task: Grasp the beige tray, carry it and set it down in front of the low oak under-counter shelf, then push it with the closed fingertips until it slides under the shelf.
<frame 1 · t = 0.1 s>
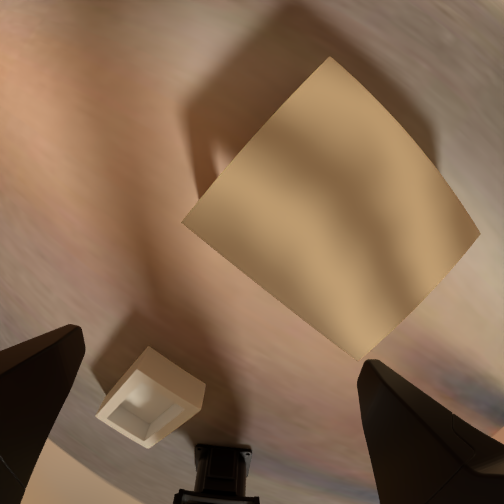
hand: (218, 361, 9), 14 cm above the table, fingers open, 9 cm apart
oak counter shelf: (332, 207, 22), on the table
beige tray: (151, 390, 28), on the table
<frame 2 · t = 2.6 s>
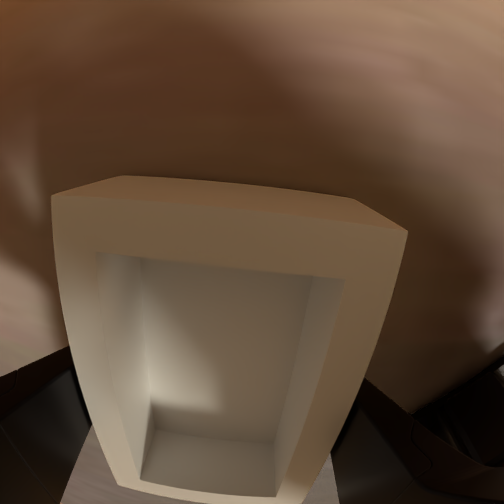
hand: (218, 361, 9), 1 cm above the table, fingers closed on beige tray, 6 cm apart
beige tray: (221, 341, 10), on the table, touching gripper
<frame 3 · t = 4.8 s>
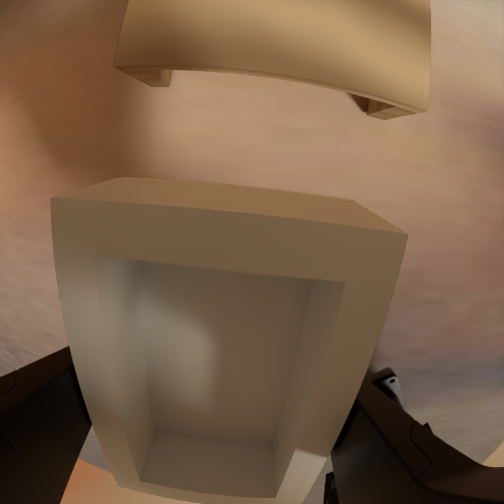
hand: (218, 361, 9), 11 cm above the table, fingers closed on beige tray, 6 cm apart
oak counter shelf: (281, 10, 15), on the table
beige tray: (221, 343, 10), point 10 cm above the table, touching gripper
when the fingers open (2 cm above the table, at t = 7.2 s): beige tray drops 1 cm, on the table.
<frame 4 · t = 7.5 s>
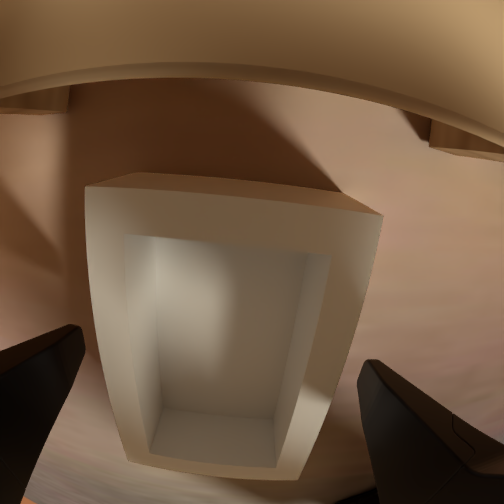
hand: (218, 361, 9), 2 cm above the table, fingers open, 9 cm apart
beige tray: (225, 321, 11), on the table
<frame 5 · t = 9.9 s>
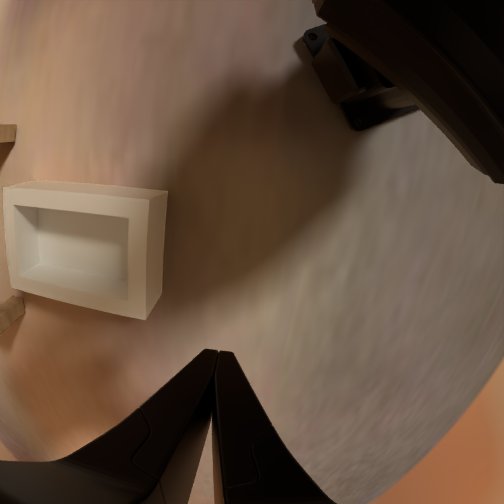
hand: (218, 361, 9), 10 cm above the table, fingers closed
beige tray: (92, 234, 18), on the table
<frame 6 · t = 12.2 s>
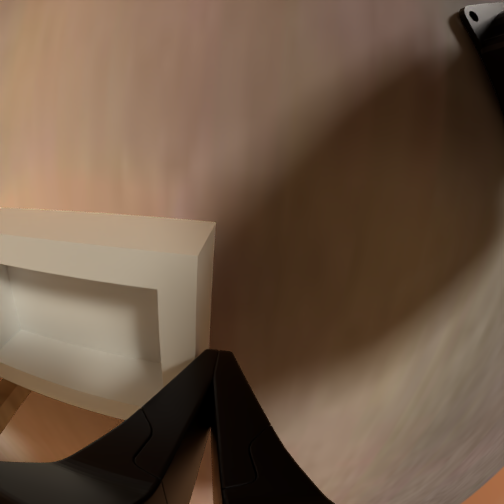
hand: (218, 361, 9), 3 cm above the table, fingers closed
beige tray: (91, 289, 12), on the table
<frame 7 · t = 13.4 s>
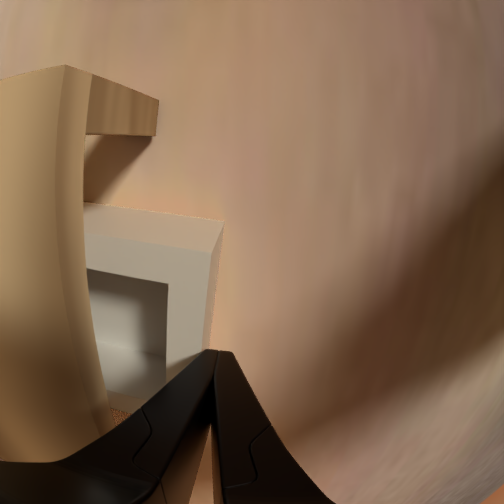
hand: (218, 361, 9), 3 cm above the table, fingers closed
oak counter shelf: (29, 280, 11), on the table
beige tray: (95, 280, 12), on the table, touching gripper
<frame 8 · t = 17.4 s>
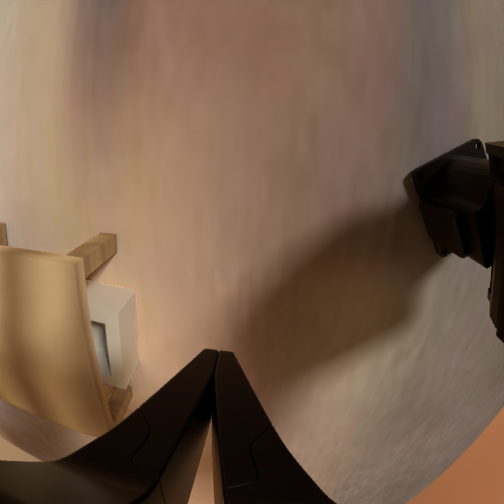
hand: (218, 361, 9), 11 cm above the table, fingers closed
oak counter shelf: (58, 314, 21), on the table
beige tray: (80, 314, 22), on the table
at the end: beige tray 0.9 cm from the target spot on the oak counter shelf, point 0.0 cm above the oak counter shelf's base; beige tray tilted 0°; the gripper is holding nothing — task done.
